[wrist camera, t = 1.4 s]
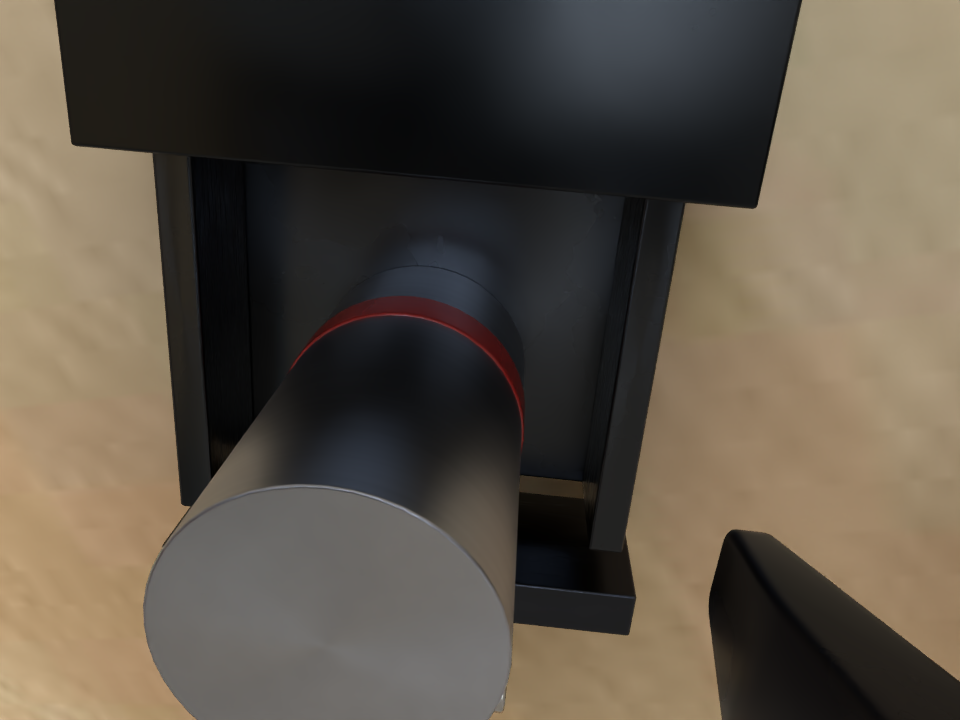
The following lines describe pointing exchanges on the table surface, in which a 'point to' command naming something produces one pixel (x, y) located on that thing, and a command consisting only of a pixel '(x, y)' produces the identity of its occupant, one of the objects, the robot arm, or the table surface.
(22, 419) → the table surface
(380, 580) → the grey metal cylinder
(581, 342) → the drawer
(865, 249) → the table surface
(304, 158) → the cabinet
